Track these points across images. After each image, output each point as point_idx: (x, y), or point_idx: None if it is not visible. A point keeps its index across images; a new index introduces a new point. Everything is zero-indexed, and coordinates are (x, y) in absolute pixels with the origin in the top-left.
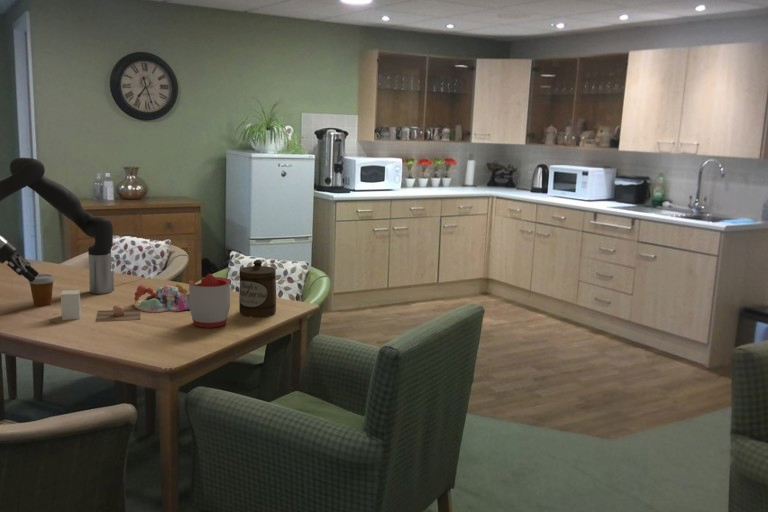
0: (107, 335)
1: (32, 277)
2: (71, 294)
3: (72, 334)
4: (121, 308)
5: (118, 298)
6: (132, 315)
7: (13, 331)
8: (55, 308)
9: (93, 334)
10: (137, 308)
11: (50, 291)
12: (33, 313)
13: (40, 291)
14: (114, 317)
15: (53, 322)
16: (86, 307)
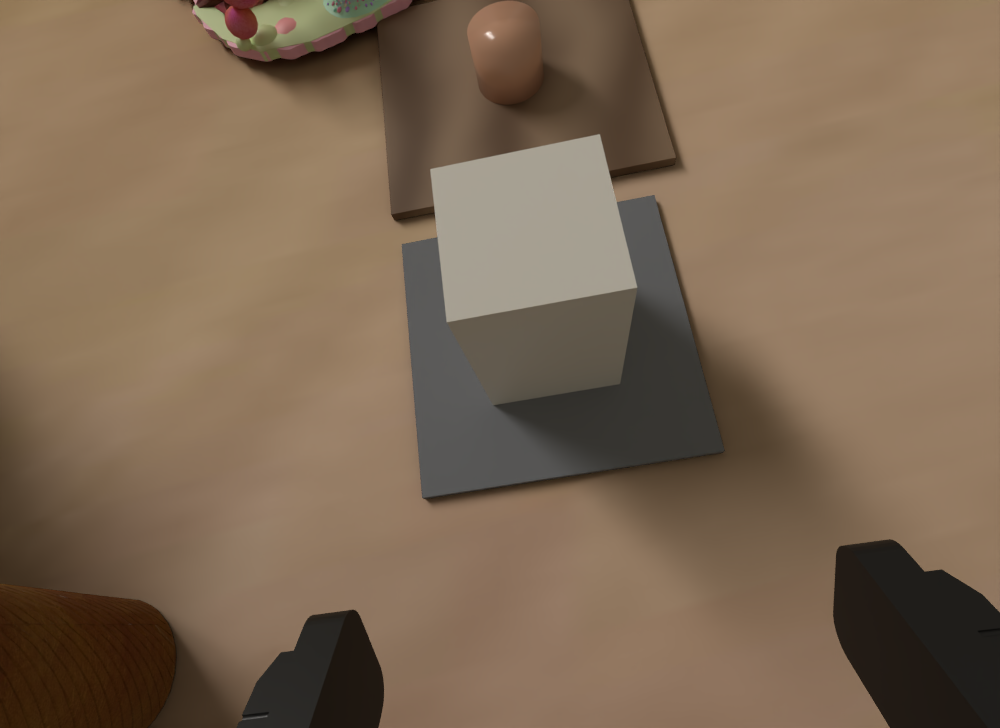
0: (944, 38)
1: (951, 593)
2: (614, 194)
3: (965, 228)
4: (530, 12)
5: (70, 192)
6: None
7: None
8: (238, 534)
9: (937, 112)
10: (374, 23)
11: (44, 594)
12: None
13: (69, 690)
14: (562, 86)
15: (690, 428)
16: (253, 320)
